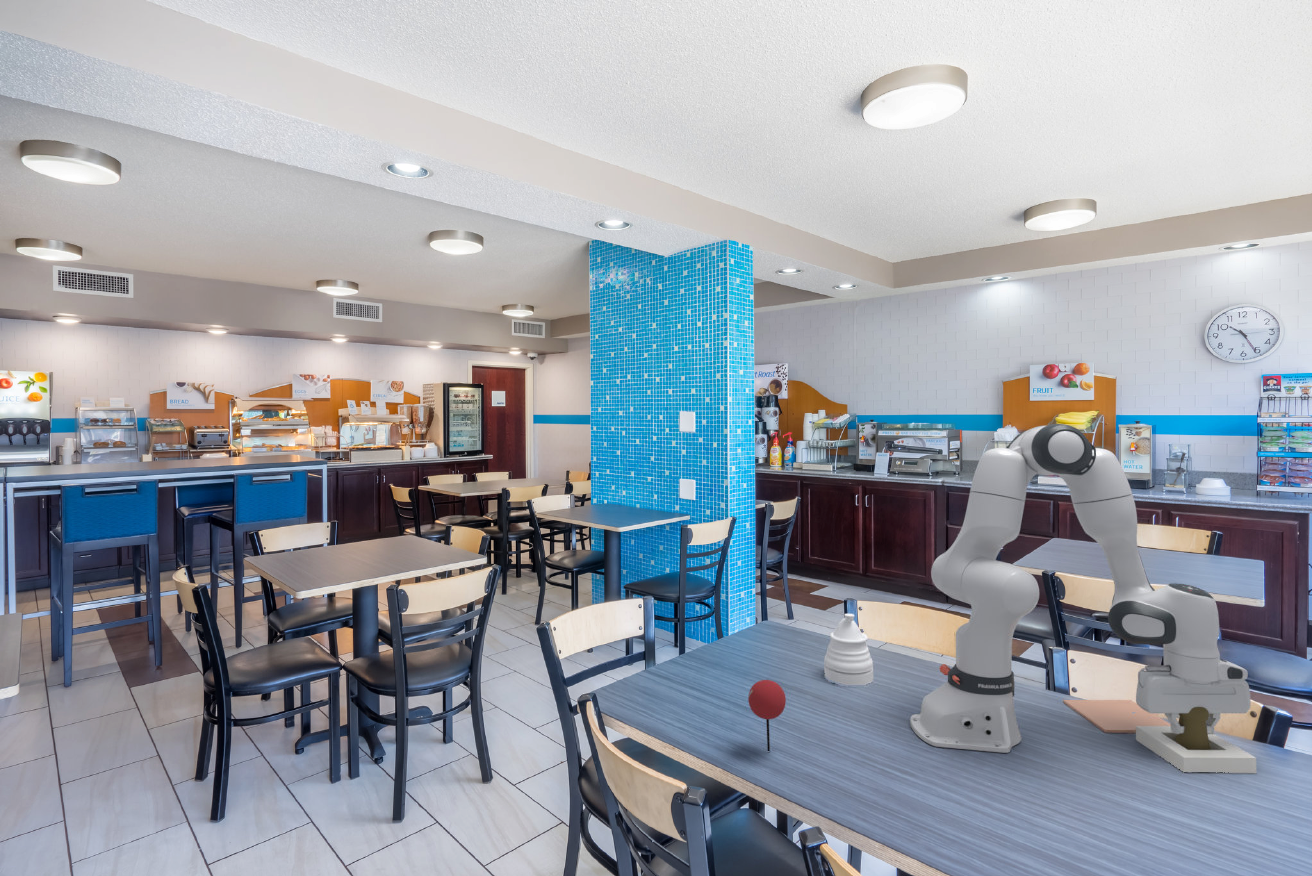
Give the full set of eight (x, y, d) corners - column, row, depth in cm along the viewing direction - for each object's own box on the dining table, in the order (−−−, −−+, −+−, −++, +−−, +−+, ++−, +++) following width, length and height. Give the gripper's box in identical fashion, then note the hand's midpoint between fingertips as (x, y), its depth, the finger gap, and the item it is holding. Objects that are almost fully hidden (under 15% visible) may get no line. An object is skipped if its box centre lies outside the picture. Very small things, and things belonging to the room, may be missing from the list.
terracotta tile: (1105, 732, 141) (1105, 730, 141) (1063, 702, 157) (1062, 699, 157) (1180, 732, 140) (1180, 730, 140) (1130, 702, 156) (1130, 699, 156)
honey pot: (880, 687, 169) (878, 619, 169) (831, 688, 169) (829, 620, 169) (864, 669, 182) (863, 606, 182) (819, 670, 182) (818, 607, 182)
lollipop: (763, 739, 141) (762, 671, 141) (793, 751, 136) (792, 680, 136) (742, 752, 136) (741, 681, 136) (772, 764, 130) (770, 691, 130)
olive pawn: (1219, 764, 127) (1218, 709, 127) (1185, 762, 128) (1184, 707, 128) (1200, 749, 133) (1199, 696, 133) (1167, 747, 134) (1166, 695, 134)
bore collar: (1184, 772, 124) (1183, 757, 124) (1136, 740, 137) (1135, 726, 137) (1256, 773, 123) (1256, 757, 123) (1200, 740, 137) (1200, 726, 137)
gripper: (1149, 671, 128) (1150, 740, 128) (1256, 671, 127) (1257, 740, 127) (1127, 660, 134) (1129, 725, 134) (1229, 659, 133) (1230, 726, 133)
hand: (1192, 733), depth 130 cm, fingers closed on olive pawn, 4 cm apart
